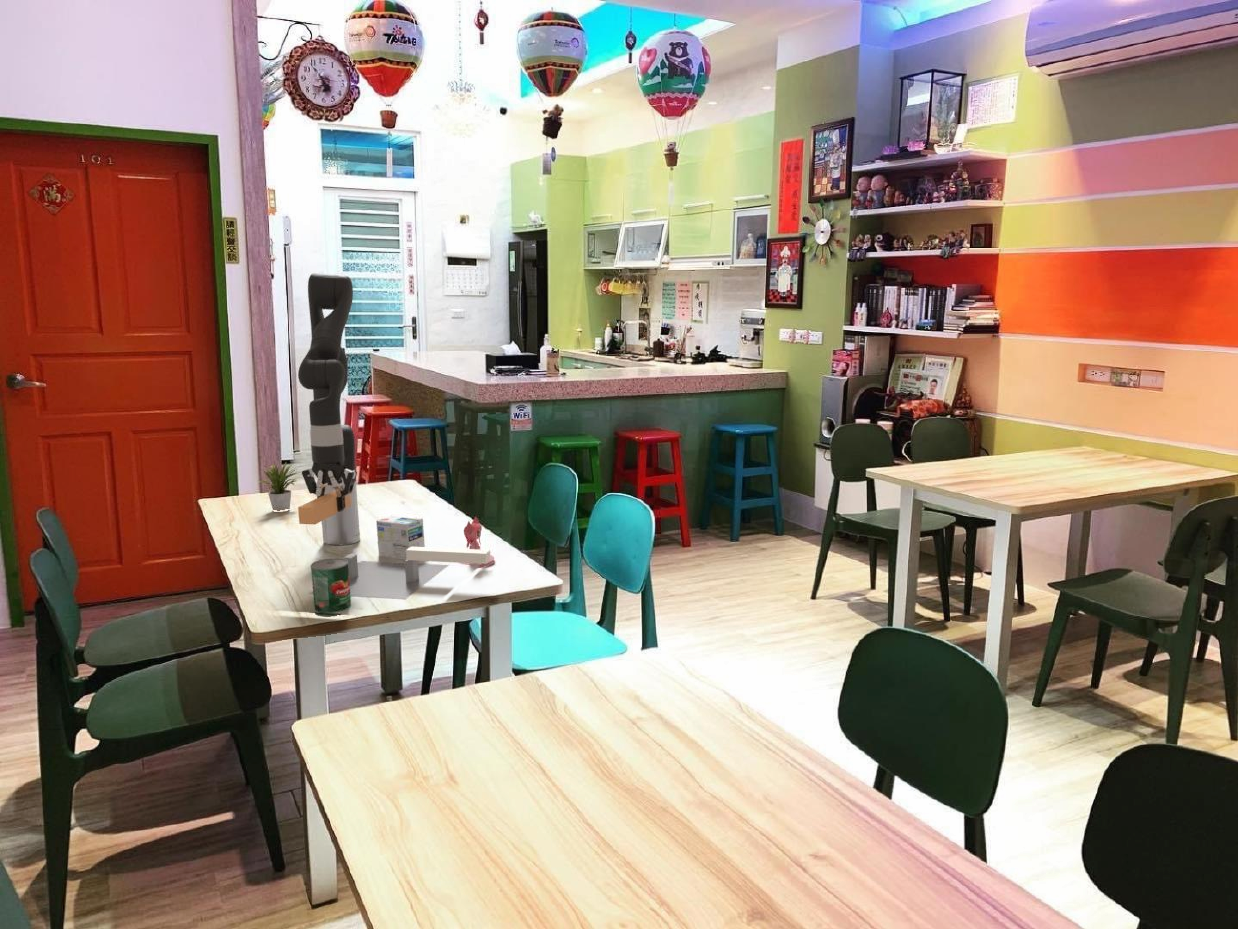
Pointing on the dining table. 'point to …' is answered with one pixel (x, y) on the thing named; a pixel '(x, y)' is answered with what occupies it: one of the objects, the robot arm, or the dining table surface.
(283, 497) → the house plant
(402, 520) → the light bulb box
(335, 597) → the canned tomato
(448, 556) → the cream bar
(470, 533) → the toy figure
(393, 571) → the cable board
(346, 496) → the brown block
